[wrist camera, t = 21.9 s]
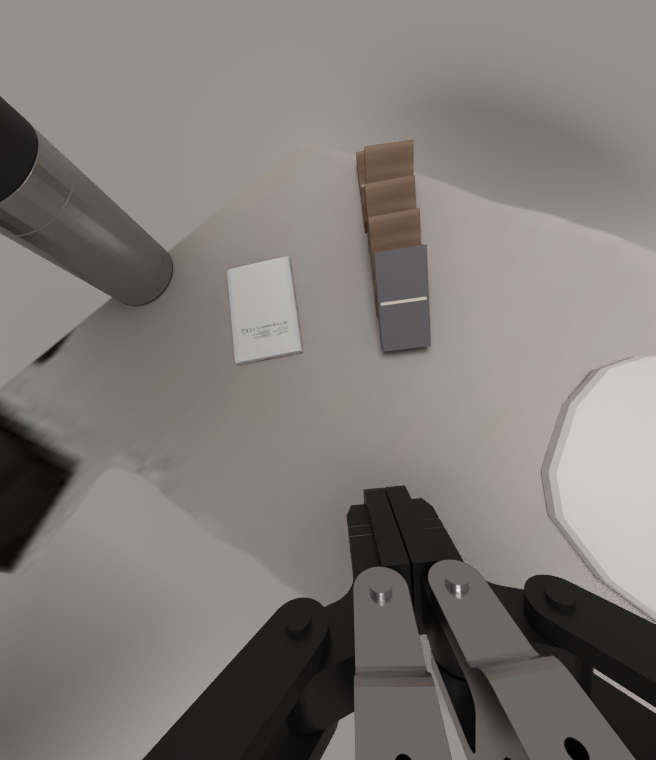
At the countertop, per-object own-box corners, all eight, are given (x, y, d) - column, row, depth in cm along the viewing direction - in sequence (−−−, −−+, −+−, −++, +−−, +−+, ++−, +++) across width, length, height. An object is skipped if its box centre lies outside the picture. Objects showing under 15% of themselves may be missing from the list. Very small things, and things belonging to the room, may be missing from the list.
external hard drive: (291, 262, 40) (304, 354, 37) (231, 276, 41) (239, 366, 38) (288, 255, 39) (301, 350, 36) (225, 269, 39) (233, 363, 37)
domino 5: (430, 346, 33) (426, 244, 30) (383, 351, 34) (374, 252, 30) (426, 341, 35) (422, 246, 32) (381, 347, 36) (372, 253, 32)
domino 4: (424, 310, 34) (419, 208, 31) (377, 317, 34) (368, 217, 31) (420, 308, 36) (415, 211, 33) (376, 314, 36) (367, 220, 33)
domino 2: (413, 244, 35) (413, 139, 32) (369, 249, 36) (364, 146, 33) (410, 245, 37) (409, 146, 34) (368, 250, 38) (363, 153, 35)
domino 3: (419, 278, 35) (414, 174, 31) (374, 284, 35) (364, 184, 32) (415, 277, 37) (411, 180, 33) (373, 283, 37) (364, 188, 34)
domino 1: (407, 214, 36) (396, 144, 38) (364, 221, 37) (356, 152, 39) (406, 226, 38) (395, 158, 40) (365, 233, 39) (357, 166, 41)
